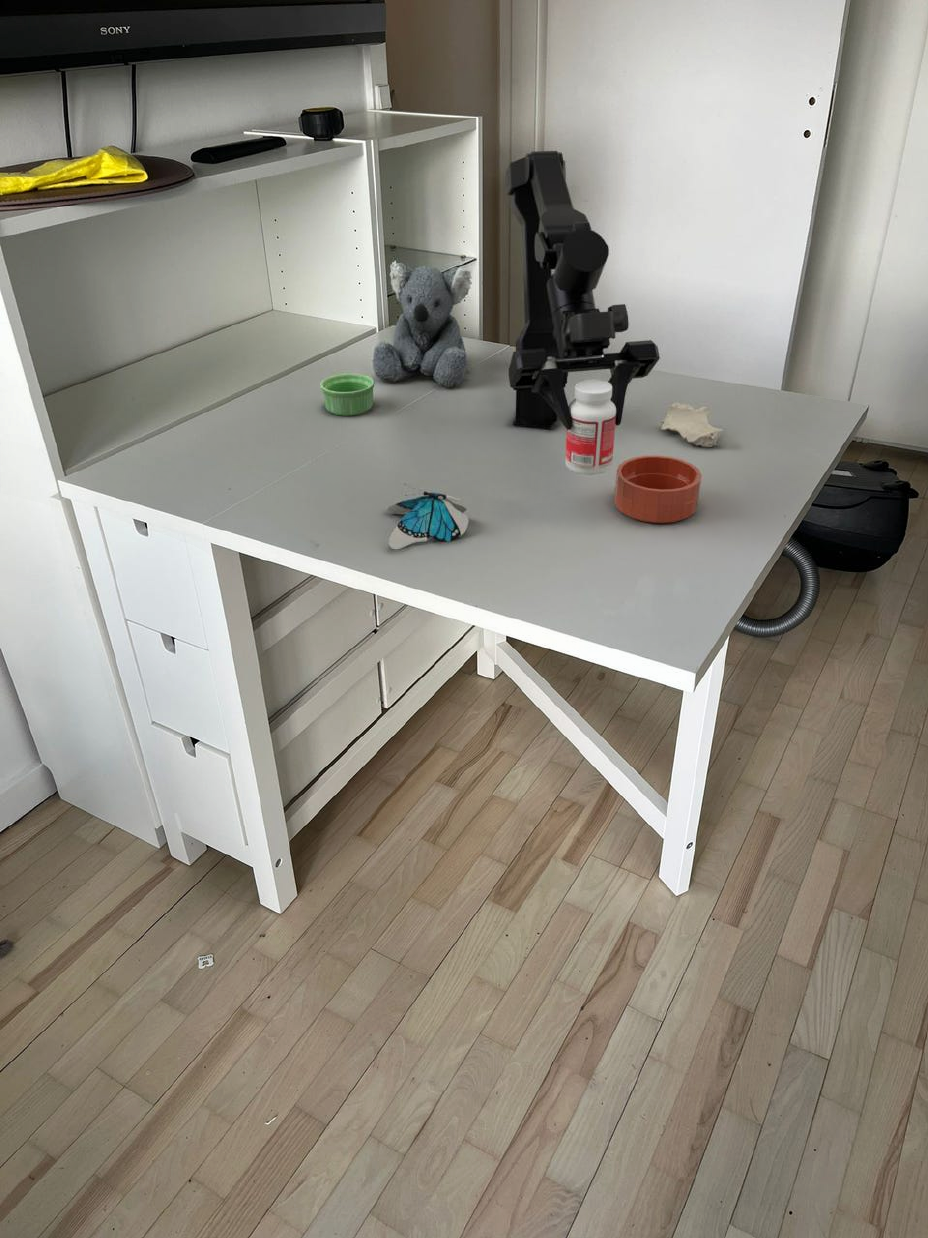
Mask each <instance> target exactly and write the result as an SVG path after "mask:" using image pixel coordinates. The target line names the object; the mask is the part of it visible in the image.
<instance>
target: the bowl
mask: <svg viewBox="0 0 928 1238" xmlns="http://www.w3.org/2000/svg"><path fill="white" fill-rule="evenodd" d="M701 484H702V473H701V470H700V469H699V468H697V467H696V466H695V464H693V463H691V462H688V461H686V460H684V459H682V458H681V459H680V458H677V457H673V456H665V455H659V454H658V455H656V454H655V455H654V454H653V455H640V456H635V457H631V458H629V459H626V460H624V461H622V462H621V463H620V464H618V466H617V469H616V473H615V485H614V486H615V487H614V495H613V497H614V498H613V502H614V505H615V507H616V509H618V511H620V512H621V513H622V514H624V515H626V516H627V517H629V518H631V519H634V520H637V521H640V522H644V523H650V524H670V523H675V522H679V521H683V520H685V519H688V518H690V517H691V516H692V515H694V513H696V511H697V508H698V505H699V497H700V491H701Z"/></svg>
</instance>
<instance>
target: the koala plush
mask: <svg viewBox="0 0 928 1238" xmlns="http://www.w3.org/2000/svg"><path fill="white" fill-rule="evenodd" d="M389 268H390V274H389V277H390V285H391V287H392V288H391V293H395V295H396V299H397V300H398V302H399V303H400V304H401V307H402V310H403V313H402V314H400V316H399V318H398V320H397V323H396V324H395V328H394V332H393V338H392V339H393V341H392V344H391V343H389V342H388V341H380V342H378V343H376V345H375V346H374V349H373V355H372V356H373V357H372V358H373V359H372V365H373V366H372V367H373V372H374V374H375V376H376V377H377V378H378V379H380V380H381V381H383V382H387V383H388V382H389V383H395V382H401V381H403V380H406V379H408V378H411V377H412V376H414V375H416V374H418V373H419V372H420V373H421V374H422V375H424V376H427V377H433V380H434V381H435V382H436V383H437V384H438V385H440V386H443V387H446V388H451V387H452V388H453V387H456V386H458V385H459V384H460V383H462V382H463V380H464V378H465V373H466V370H467V369H468V357H467V352H466V347H465V343H464V339H463V337H462V335H461V329H460V325H459V323H458V320H457V319H456V317H455V316H453V315H452V314H451V312H452V311H453V308H454V306H457V305H458V304H461V302H462V301H463V300H464V299H465V298H466V296H468V295H469V291H470V289H471V285H472V284H473V283H472V281H471V279H473V276H472V273H471V272H472V271H469V269H467V268H464V267H463V265H461V266H459V267H458V266H455V267H452V268H450V269H449V270H447V271H445V272H442V271H441V270H440V269H438V268H436V267H433V266H429V265H422V266H419V267H416V268H415V269H413V268H412V267H411V266H409V265H406V264H404V263H403V262H398V263H397V260H394V261H392V262H391V264H390V265H389Z"/></svg>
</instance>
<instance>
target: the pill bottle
mask: <svg viewBox="0 0 928 1238" xmlns="http://www.w3.org/2000/svg"><path fill="white" fill-rule="evenodd" d="M573 397H574V399H573V400H572V401H570V402H569V403H568V407H569V411H570V415H571V422H572V428H571V429H570V430H567V429H566V438H565V461H564V462H565V466H566V468H567V469H568V470H570V471H571V472H573V473H575V474H578V475H586V476H594V475H601V474H604V473H606V472H608V471H609V470H610V469H611V468H612V465H613V459H614V445H615V433H616V432H615V431H616V424H615V421H616V407H615V405H614V403H613V402H612V401H611V400H610V399H611V397H612V385H611V384H610V383H608V381H606V380H602V379H585V380H581V381H579V382H577V383H576V384H575V385H574V395H573Z"/></svg>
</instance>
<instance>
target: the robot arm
mask: <svg viewBox="0 0 928 1238" xmlns="http://www.w3.org/2000/svg"><path fill="white" fill-rule="evenodd" d="M566 169H567V167H566V160H564V157H563V153H562V152H558V151H557V150H539V151H538V150H536V151H533V150H532V151H531V152H529V153H526V154H525V156H523V157H522V158H519V159H517V160H515V161H512V162H510V163H509V164H508V167H507V168H506V170H505V178H504V179H505V180H504V181H505V183H504V184H505V194H506V196H509V207H510V210H511V212H512V214H513V215H514V216H515V218H516V220H517V221H518V223H519V225H520V227H521V228H520V229H521V250H522V251H521V252H522V256H521V257H522V278H523V279H522V280H523V281H522V282H523V307H524V325H523V327H522V329H521V331H520V333H519V335H518V337H517V339H516V341H515V351H513V352H512V356H511V359H510V364H509V367H508V380H509V387H510V388H511V389H513V391H515V417H514V419H513V420H512V425H513V426H517V427H518V426H519V427H527V428H537V429H547V430H551V429H552V428H553V427H554V425H555V423H556V422H558V420H559V421H561V423H562V425H563V426H564V428H565V429H566V431H567V430H570V429H571V428H572V422H571V415H570V411H569V407H568V406H569V403H568V399H567V396H566V391H565V388H566V385H567V384H568V377H569V373H577V372H587V371H588V372H589V371H602V370H609V371H610V376H611V377H610V378H609V380H608V381H607V382H608V383H610V384H611V385H612V397H611V399H610V400H611V401H612V402H613V403H614V405H615V407H616V421H615V427H616V426H617V427H619V426H620V424H621V423H622V419H623V413H624V407H625V401H626V395H627V389H628V386H629V384H630V383H631V382H632V380H634V379H642V378H645V377H647V376H649V375H650V373H651V371H652V370H653V369H654V367H655V366H656V364H657V363H658V361H660V359H661V358H660V351H659V347H658V345H657V344H656V343H655V342H654V341H653V340H652V339H651V340H650V339H649V340H635V341H626V342H625V344H624V345H623V347H622V348H621V350H620V351H619V352H610V353H605V351H604V349H608V348H609V347H610V344H611V342H610V339H613V340H614V339H616V333H623V332H626V331H628V329H629V325H630V323H629V314H628V310H627V305H626V304H625V303H624V304H623V303H622V304H612V305H611V306H608V307H607V311H600V308H597V307H596V302H595V297H594V292H593V291H594V290H595V289H597V287H598V284H599V281H600V278H601V276H602V274H603V271H604V269H605V266H606V264H607V261H608V257H609V256H610V249H609V245H608V243H607V241H606V240H605V238H604V237H603V236H602V235H600V234H599V233H598V232H596V231H595V230H592V226H591V224H590V221H589V219H588V217H587V215H586V214H585V213H583V212H581V211H579V210H578V209H576V208H575V207H574V205H573V201H572V198H571V195H570V190H569V187H568V184H567V174H566V173H567V172H566ZM552 270H554V271H553V273H552Z"/></svg>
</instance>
